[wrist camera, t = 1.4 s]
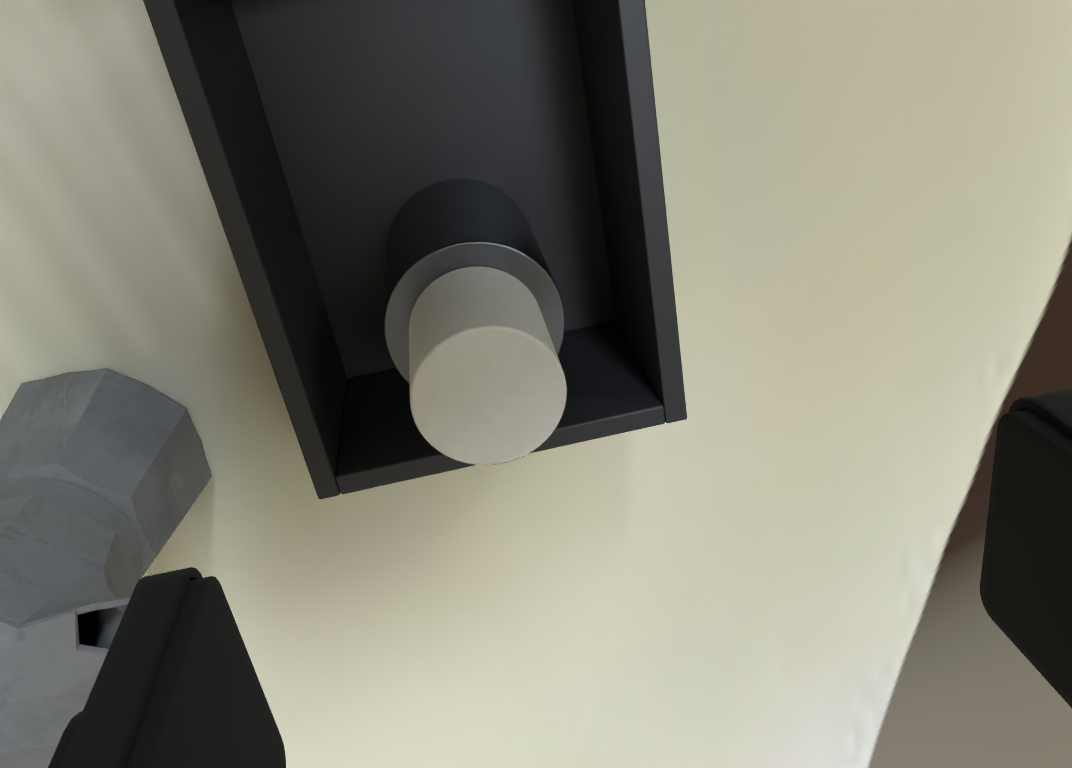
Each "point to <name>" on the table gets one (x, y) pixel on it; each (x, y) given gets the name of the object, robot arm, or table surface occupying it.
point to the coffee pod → (483, 368)
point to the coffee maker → (413, 164)
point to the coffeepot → (79, 537)
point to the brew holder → (461, 254)
